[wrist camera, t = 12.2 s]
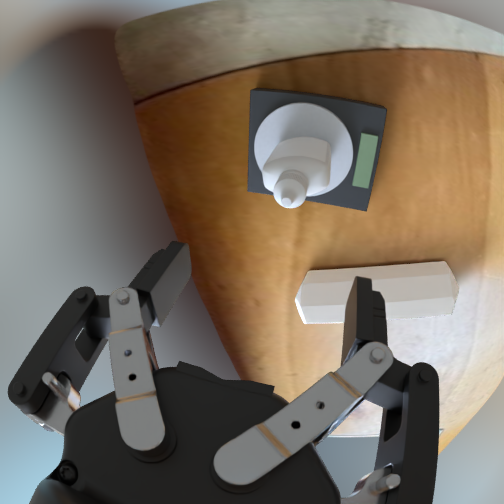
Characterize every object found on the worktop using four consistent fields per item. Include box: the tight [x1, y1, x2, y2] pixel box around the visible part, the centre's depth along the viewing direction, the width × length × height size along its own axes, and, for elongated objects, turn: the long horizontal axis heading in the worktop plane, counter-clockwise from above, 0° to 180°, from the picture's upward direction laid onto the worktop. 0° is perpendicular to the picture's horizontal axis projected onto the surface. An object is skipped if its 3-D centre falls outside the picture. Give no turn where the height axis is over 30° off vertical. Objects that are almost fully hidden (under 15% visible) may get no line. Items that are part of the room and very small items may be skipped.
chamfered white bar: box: [295, 261, 459, 324], centre depth 39 cm, size 7×7×24 cm
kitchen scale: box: [248, 88, 387, 211], centre depth 31 cm, size 12×14×3 cm
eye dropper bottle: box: [262, 136, 331, 208], centre depth 25 cm, size 4×6×12 cm
